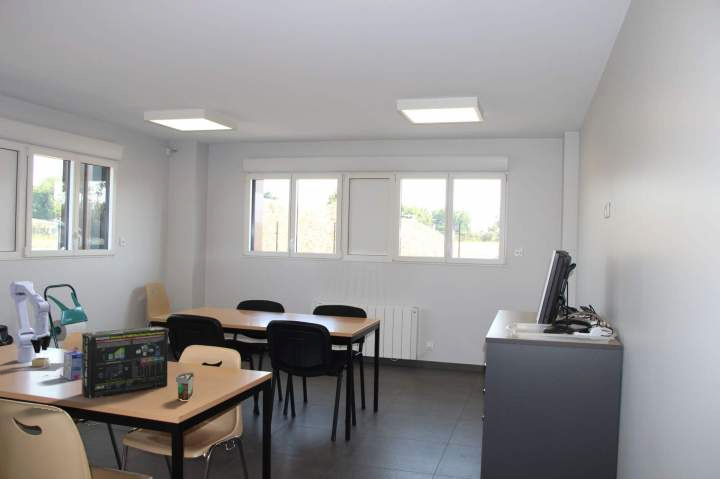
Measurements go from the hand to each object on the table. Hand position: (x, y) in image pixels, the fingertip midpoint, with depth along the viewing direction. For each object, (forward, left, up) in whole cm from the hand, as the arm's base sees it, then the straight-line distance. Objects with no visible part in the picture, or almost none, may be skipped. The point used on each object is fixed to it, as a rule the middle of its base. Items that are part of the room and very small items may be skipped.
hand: (40, 351), depth 295 cm
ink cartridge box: (+21, +24, -9) cm, 33 cm away
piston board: (+2, +4, -8) cm, 10 cm away
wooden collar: (-1, 0, -7) cm, 7 cm away
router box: (+44, +55, -9) cm, 71 cm away
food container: (+59, +83, -9) cm, 102 cm away
